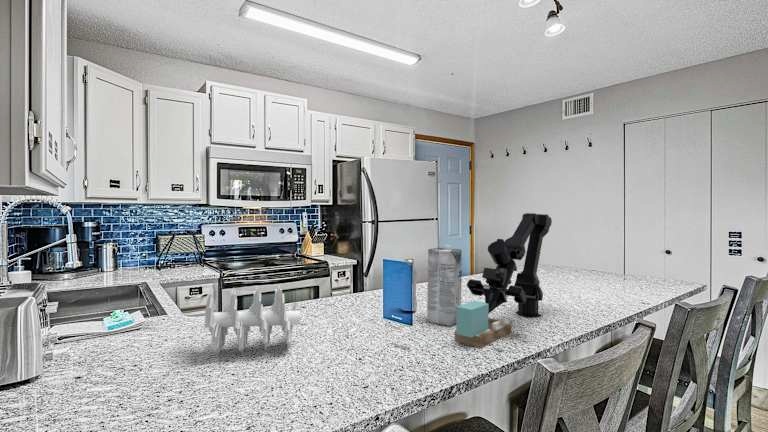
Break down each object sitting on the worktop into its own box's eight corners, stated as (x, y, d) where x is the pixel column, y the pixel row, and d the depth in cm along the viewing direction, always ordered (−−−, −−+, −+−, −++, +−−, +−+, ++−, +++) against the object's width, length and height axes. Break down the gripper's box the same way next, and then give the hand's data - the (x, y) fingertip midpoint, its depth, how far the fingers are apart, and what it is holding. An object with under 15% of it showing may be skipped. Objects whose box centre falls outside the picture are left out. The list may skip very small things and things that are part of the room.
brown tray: (486, 326, 135) (487, 311, 134) (511, 332, 129) (511, 316, 128) (454, 340, 120) (454, 324, 120) (480, 348, 114) (481, 330, 114)
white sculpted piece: (298, 364, 111) (200, 370, 103) (294, 321, 126) (209, 323, 118) (304, 313, 103) (200, 315, 96) (300, 273, 118) (209, 272, 111)
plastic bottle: (397, 312, 150) (397, 259, 150) (404, 308, 156) (405, 257, 156) (412, 314, 147) (413, 261, 147) (419, 310, 153) (420, 259, 153)
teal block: (473, 326, 124) (474, 300, 124) (488, 329, 121) (488, 303, 121) (456, 333, 117) (456, 306, 117) (471, 337, 114) (471, 309, 113)
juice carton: (451, 328, 132) (452, 247, 131) (424, 322, 138) (425, 244, 138) (463, 322, 139) (464, 245, 138) (437, 316, 146) (438, 243, 145)
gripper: (469, 255, 135) (451, 293, 127) (523, 261, 122) (506, 303, 114) (481, 275, 141) (464, 312, 133) (533, 282, 128) (518, 324, 120)
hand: (486, 312), depth 125 cm, fingers closed
